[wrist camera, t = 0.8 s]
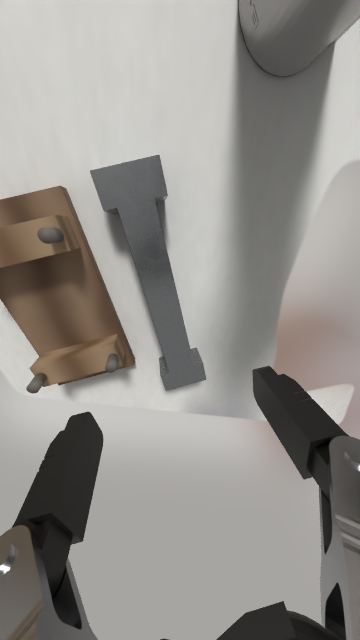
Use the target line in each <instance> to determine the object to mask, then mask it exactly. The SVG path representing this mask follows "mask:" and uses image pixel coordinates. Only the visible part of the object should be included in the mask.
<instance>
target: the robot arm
mask: <svg viewBox="0 0 360 640" xmlns="http://www.w3.org/2000/svg"><path fill="white" fill-rule="evenodd" d="M239 13H240V22H241V28H242V32H243V36H244V39H245V43H246V45H247V47H248V49H249V51H250V54H251V55H252V57H253V58H254V60H255V61H256V62H257V64H258V65H259V66H260V67H262V68H263V69H264V70H265V71H266V72H268V73H271V74H273V75H275V76H289V75H293V74H296V73H298V72H299V71H301V70H303V69H305V68H306V67H307V66H308V65H309V64H310V63H311V62H313V61H314V60H315V59H316V58H317V57H318V56H319V55H320V54H321V53H322V52H323V51H324V50H325V49H326V48H327V47H328V46H329V45H330V44H331V43H334V42H336V41H337V40H338V39H339V38H340V37H341V36H342V35H343V34H344V33H345V32H346V31H347V30H348V29H349V28H350V27H351V26H352V25H353V24H354V23H355V22H356V21H357V20H358V19H359V18H360V0H239ZM253 392H254V397H255V400H256V402H257V404H258V406H259V407H260V409H261V411H262V412H263V414H264V415H265V417H266V419H267V420H268V422H269V423H270V425H271V427H272V428H273V430H274V432H275V433H276V435H277V436H278V438H279V440H280V442H281V443H282V445H283V446H284V448H285V449H286V451H287V453H288V455H289V456H290V458H291V459H292V461H293V463H294V464H295V465H296V467H297V469H298V471H299V472H300V474H301V476H302V477H303V479H307V478H311V477H313V478H314V479H315V481H316V482H317V484H318V485H319V503H320V526H321V549H322V560H321V577H320V579H321V580H320V582H321V583H320V585H321V586H320V587H321V615H322V616H321V617H322V626H321V625H320V624H319V623H317V622H315V621H314V620H312V619H310V618H308V617H306V616H304V615H301V614H299V613H296V612H292V611H287V610H286V607H285V604H284V601H282V602H279V603H276V604H273V605H270V606H267V607H263V608H260V609H257V610H254V611H251V612H247V613H245V614H244V615H243V616H242V617H240V618H239V619H238V620H237V621H236V622H235V623H234V624H233V625H232V626H231V627H230V628H229V629H227V630H226V631H225V632H224V633H223V634H222V635H221V636H220V637H219V638H218V639H217V640H360V440H359V439H356V438H354V437H350V436H349V435H347V434H346V433H345V432H344V431H343V430H342V429H341V428H340V427H339V426H338V425H337V424H336V423H335V422H334V421H333V420H332V419H331V417H330V416H329V415H328V414H327V413H326V412H325V411H324V410H323V409H322V408H321V407H320V406H319V405H318V404H317V403H316V402H315V401H314V400H313V399H312V398H311V397H310V395H309V394H308V393H307V392H306V391H304V389H303V388H302V387H301V386H300V385H299V384H298V383H297V382H296V381H295V380H293V379H292V378H290V377H288V376H287V375H285V374H281V375H277V373H276V372H275V371H274V370H273V369H272V368H271V367H270V366H266V367H262V368H258V369H254V370H253ZM102 447H103V434H102V431H101V429H100V428H99V426H98V424H97V422H96V421H95V419H94V417H93V416H92V414H91V413H90V412H85V413H81V414H77V415H73V416H71V417H70V418H69V420H68V423H67V425H66V428H65V430H63V431H60V432H59V434H58V435H57V436H56V438H55V439H54V440H53V441H52V443H51V444H50V446H49V448H48V450H47V453H46V455H45V457H44V458H45V459H44V460H43V461H42V464H41V466H40V468H39V472H38V473H37V475H36V477H35V479H34V482H33V484H32V486H31V488H30V490H29V492H28V495H27V497H26V499H25V501H24V503H23V506H22V508H21V510H20V512H19V514H18V517H17V519H16V521H15V523H14V525H13V526H12V528H11V529H9V530H8V531H6V532H5V533H4V534H3V535H1V536H0V640H97V638H96V636H95V635H94V633H93V632H92V630H91V628H90V626H89V623H88V620H87V617H86V614H85V610H84V607H83V604H82V601H81V597H80V594H79V591H78V587H77V584H76V581H75V578H74V575H73V571H72V568H71V565H70V562H69V559H68V554H69V550H70V545H72V544H75V543H78V542H82V541H83V538H84V533H85V528H86V524H87V519H88V514H89V509H90V505H91V500H92V495H93V490H94V485H95V481H96V476H97V471H98V466H99V462H100V456H101V452H102ZM161 640H168V639H161Z"/></svg>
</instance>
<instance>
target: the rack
mask: <svg viewBox="0 0 360 640" xmlns="http://www.w3.org/2000/svg"><path fill="white" fill-rule="evenodd" d="M0 299H1V301H2V302H3V303H4V305H5V306H6V308H7V309H8V311H9V312H10V314H11V315H12V317H13V318H14V320H15V321H16V323H17V324H18V326H19V327H20V329H21V330H22V332H23V333H24V334H25V336H26V337H27V339H28V340H29V342H30V343H31V345H32V346H33V348H34V349H35V351H36V352H37V354H38V355H39V358H38V359H37V360H36V362H35V363H34V364H33V365H32V366H31V367H30V370H31V371H32V373H33V374H34V375H35V377H34V378H33V380H32V381H31V382H30V384H29V385H28V386H27V388H26V389H27V391H28V392H30V393H37V392H38V391H39V389H40V388H41V386H43V387H45V386H49V385H53V384H57V383H58V385H62V384H65V383H69V382H73V381H77V380H80V379H84V378H88V377H91V376H95V375H99V374H103V373H106V372H114V371H115V370H117V369H121V368H125V367H129V366H132V365H134V363H135V358H134V355H133V353H132V350H131V348H130V345H129V343H128V340H127V338H126V335H125V333H124V330H123V328H122V326H121V323H120V321H119V318H118V316H117V313H116V311H115V308H114V306H113V303H112V301H111V298H110V296H109V293H108V291H107V288H106V286H105V283H104V281H103V278H102V276H101V274H100V271H99V269H98V266H97V264H96V261H95V259H94V256H93V254H92V251H91V249H90V246H89V244H88V241H87V239H86V236H85V234H84V231H83V229H82V227H81V224H80V222H79V219H78V217H77V214H76V212H75V209H74V207H73V204H72V202H71V199H70V197H69V194H68V192H67V189H66V188H64V187H62V186H57V187H53V188H49V189H44V190H40V191H36V192H32V193H27V194H23V195H19V196H15V197H10V198H6V199H2V200H0Z"/></svg>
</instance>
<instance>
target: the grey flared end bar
mask: <svg viewBox="0 0 360 640" xmlns="http://www.w3.org/2000/svg"><path fill="white" fill-rule="evenodd" d="M90 173H91V176H92V179H93V181H94V184H95V187H96V190H97V193H98V196H99V199H100V202H101V205H102V207H103V210H104V211H106V212H109V213H115V212H119V215H120V218H121V221H122V224H123V228H124V231H125V234H126V237H127V240H128V243H129V247H130V250H131V253H132V256H133V259H134V262H135V266H136V269H137V272H138V275H139V278H140V281H141V284H142V288H143V291H144V294H145V297H146V300H147V303H148V307H149V310H150V313H151V316H152V319H153V322H154V326H155V329H156V332H157V335H158V338H159V341H160V344H161V348H162V351H163V354H164V356H163V357H160V358H159V362H160V375H161V378H162V381H163V384H164V387H165V389H166V390H170V389H174V388H177V387H181V386H185V385H188V384H192V383H196V382H199V381H203V380H206V376H205V371H204V366H203V362H202V360H201V357H200V355H199V352H198V350H197V348H193V349H190V346H189V342H188V338H187V333H186V329H185V325H184V321H183V317H182V312H181V308H180V304H179V300H178V295H177V291H176V287H175V283H174V279H173V274H172V270H171V266H170V262H169V257H168V253H167V249H166V245H165V241H164V236H163V232H162V228H161V224H160V219H159V215H158V211H157V207H156V202H160V201H165V199H166V197H167V196H168V194H167V189H166V184H165V180H164V175H163V170H162V165H161V160H160V156H159V155H155V156H151V157H147V158H143V159H138V160H134V161H130V162H125V163H121V164H117V165H113V166H108V167H104V168H100V169H95V170H91V171H90Z"/></svg>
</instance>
